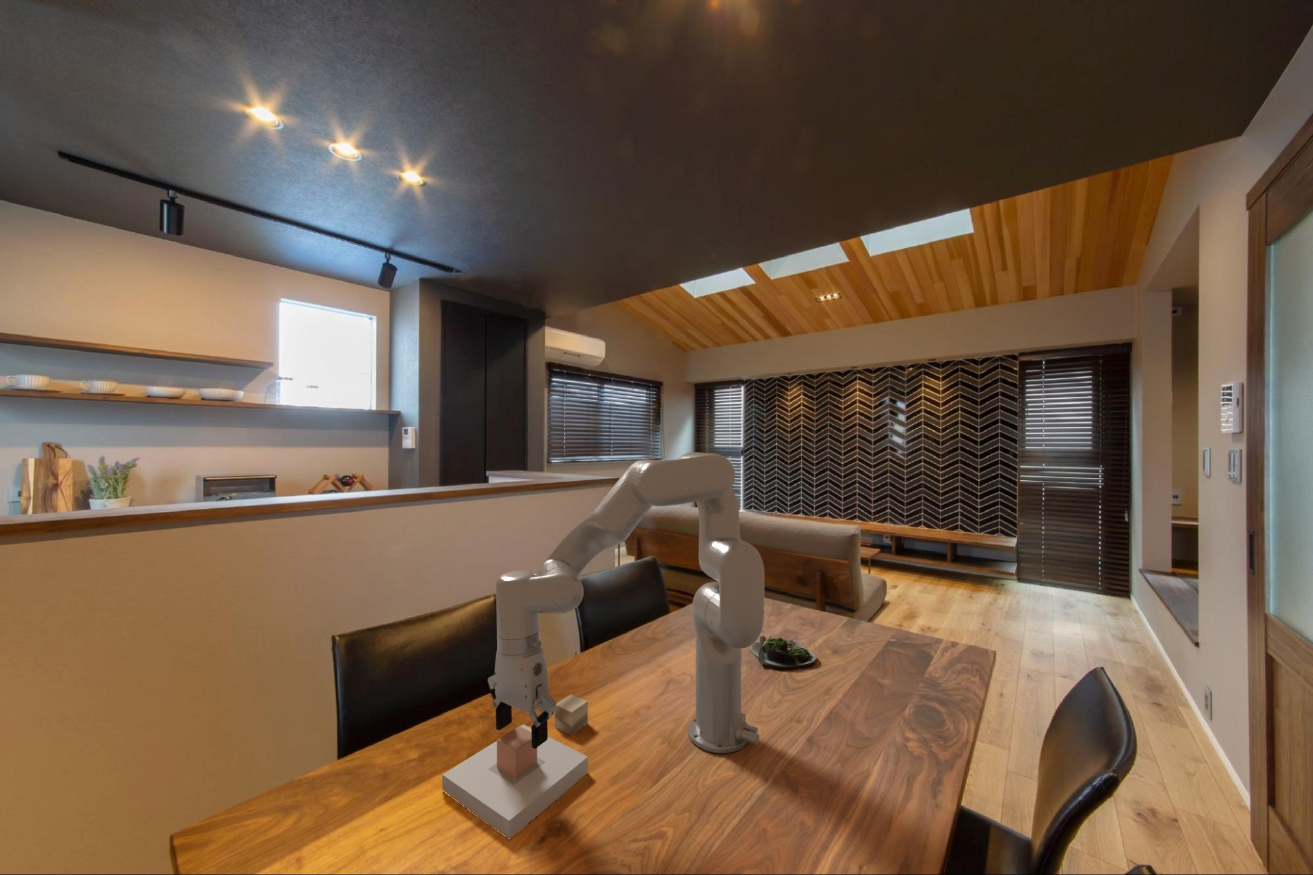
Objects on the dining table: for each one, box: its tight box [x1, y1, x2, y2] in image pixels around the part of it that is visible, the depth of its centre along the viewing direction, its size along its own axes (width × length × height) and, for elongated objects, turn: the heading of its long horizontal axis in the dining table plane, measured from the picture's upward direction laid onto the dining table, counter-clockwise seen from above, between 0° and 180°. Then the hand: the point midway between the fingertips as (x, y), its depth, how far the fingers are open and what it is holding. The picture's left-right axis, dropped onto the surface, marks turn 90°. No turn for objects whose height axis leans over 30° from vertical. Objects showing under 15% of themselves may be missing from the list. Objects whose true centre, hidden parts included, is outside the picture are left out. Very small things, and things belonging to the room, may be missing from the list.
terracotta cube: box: [496, 725, 537, 779], centre depth 86 cm, size 5×5×5 cm
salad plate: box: [750, 635, 817, 671], centre depth 138 cm, size 19×18×5 cm
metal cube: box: [554, 694, 589, 736], centre depth 103 cm, size 5×5×5 cm
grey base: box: [441, 724, 589, 839], centre depth 86 cm, size 18×18×3 cm
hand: (521, 734), depth 86 cm, fingers open, 9 cm apart
